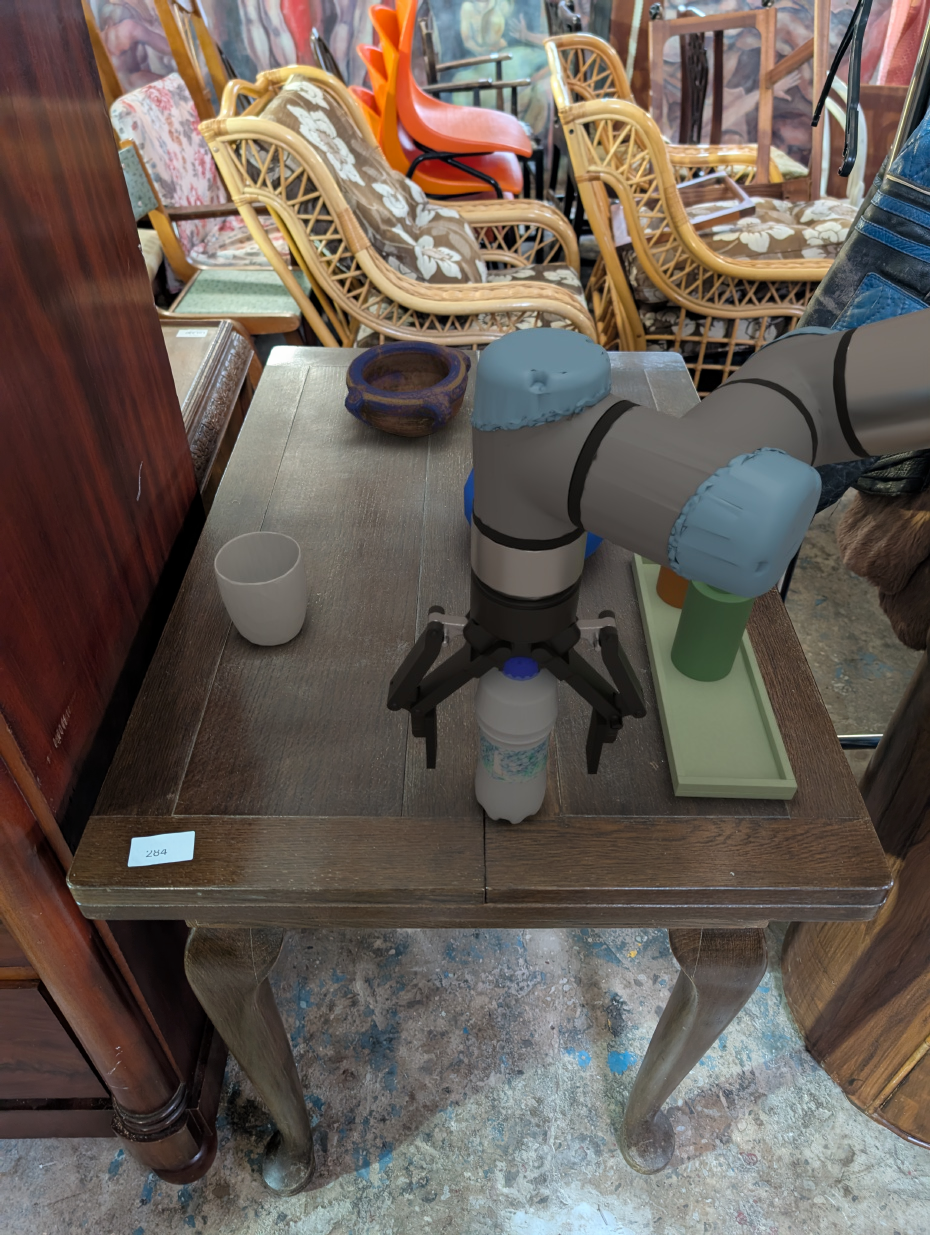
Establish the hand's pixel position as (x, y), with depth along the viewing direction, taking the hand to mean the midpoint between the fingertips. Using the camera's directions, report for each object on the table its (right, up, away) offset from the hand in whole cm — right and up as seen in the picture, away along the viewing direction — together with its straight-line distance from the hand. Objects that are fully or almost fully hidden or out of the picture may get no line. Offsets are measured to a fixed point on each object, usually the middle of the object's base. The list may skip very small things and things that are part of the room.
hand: (511, 758), depth 68 cm
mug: (-26, +12, +22) cm, 36 cm away
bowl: (-13, +42, +54) cm, 69 cm away
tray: (+21, +7, +17) cm, 28 cm away
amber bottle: (+21, +15, +24) cm, 36 cm away
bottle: (0, -5, +4) cm, 6 cm away
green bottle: (+21, +8, +16) cm, 28 cm away
